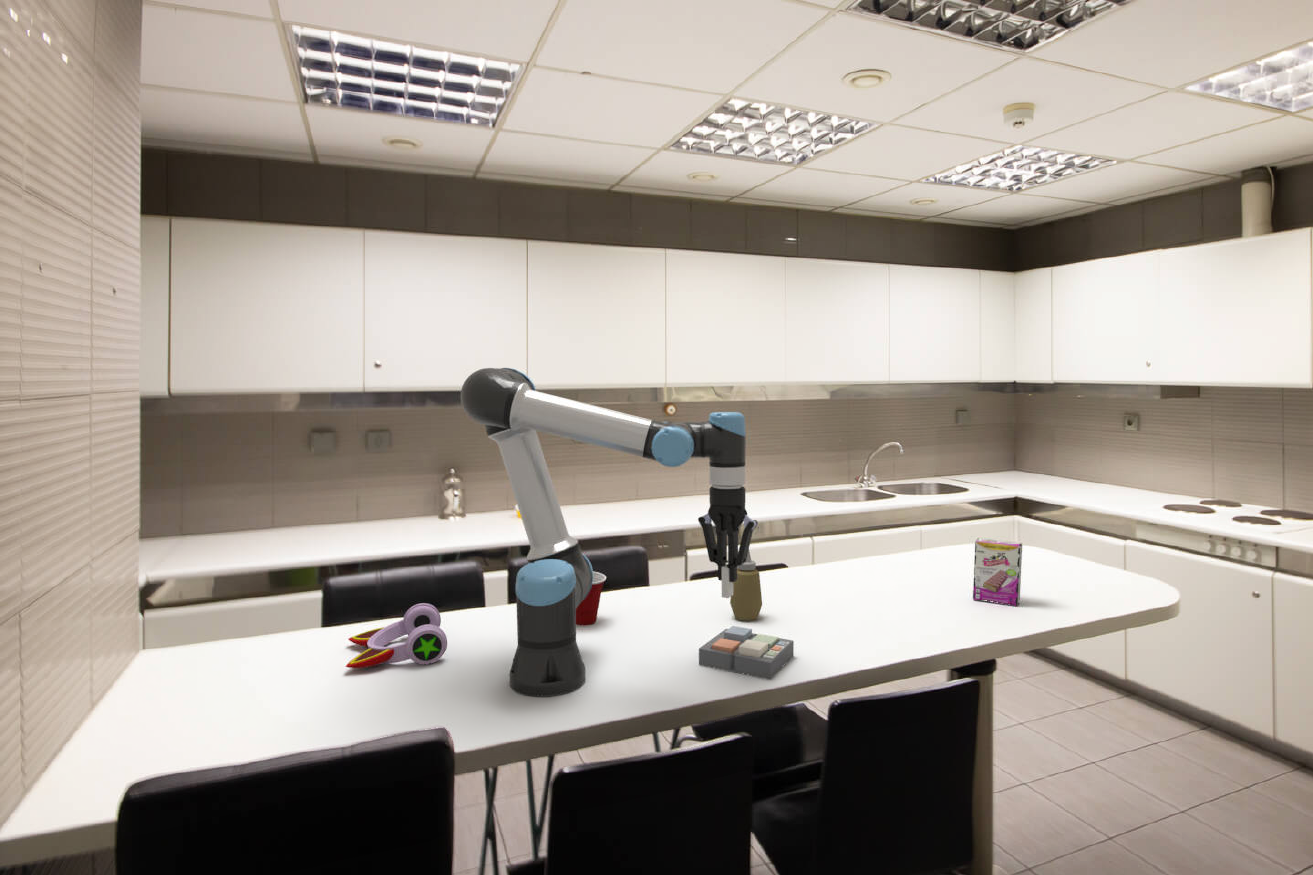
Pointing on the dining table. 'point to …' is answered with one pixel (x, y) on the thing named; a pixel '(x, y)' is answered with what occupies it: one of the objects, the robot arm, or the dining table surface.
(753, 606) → the squeeze bottle
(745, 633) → the key slate
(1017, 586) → the candy bar box
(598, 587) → the plastic cup
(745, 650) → the key cream
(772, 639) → the key sage
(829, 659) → the dining table surface
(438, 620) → the headphones
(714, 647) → the key terracotta
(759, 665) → the keypad
